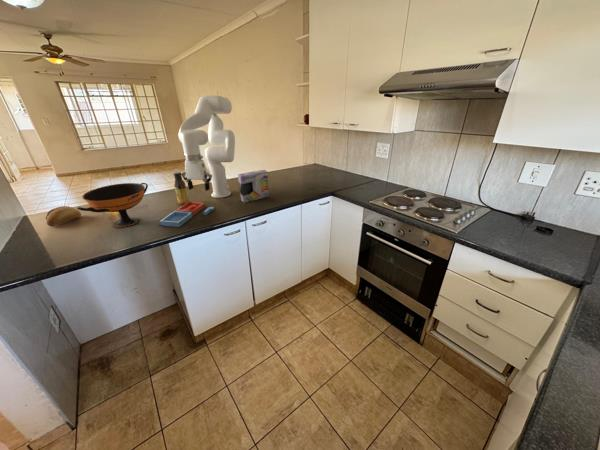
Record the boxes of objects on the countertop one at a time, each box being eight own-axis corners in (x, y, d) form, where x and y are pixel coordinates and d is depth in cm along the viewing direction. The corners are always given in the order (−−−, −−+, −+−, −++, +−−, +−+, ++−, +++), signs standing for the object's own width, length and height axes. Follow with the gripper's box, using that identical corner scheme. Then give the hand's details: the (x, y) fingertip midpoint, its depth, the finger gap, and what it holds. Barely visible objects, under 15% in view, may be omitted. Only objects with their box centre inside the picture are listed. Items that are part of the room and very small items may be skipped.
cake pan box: (242, 203, 152) (238, 175, 144) (239, 201, 156) (235, 173, 148) (269, 197, 162) (268, 170, 154) (266, 195, 166) (264, 169, 157)
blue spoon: (209, 208, 146) (209, 205, 145) (215, 208, 145) (214, 205, 145) (201, 214, 138) (201, 211, 137) (207, 215, 137) (207, 212, 137)
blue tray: (175, 215, 138) (174, 211, 137) (193, 216, 136) (192, 212, 135) (160, 225, 127) (159, 221, 126) (179, 226, 125) (178, 222, 124)
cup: (134, 207, 148) (125, 178, 139) (171, 211, 142) (163, 182, 134) (72, 236, 117) (55, 202, 108) (115, 243, 111) (101, 207, 103)
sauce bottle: (179, 202, 154) (171, 171, 145) (189, 201, 156) (182, 170, 147) (178, 206, 149) (170, 174, 140) (189, 204, 151) (182, 173, 142)
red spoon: (192, 206, 148) (192, 203, 147) (198, 206, 147) (197, 203, 146) (183, 212, 139) (183, 209, 139) (189, 213, 139) (189, 210, 138)
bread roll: (43, 226, 125) (35, 212, 122) (74, 214, 138) (68, 201, 134) (56, 229, 123) (48, 215, 119) (86, 217, 136) (80, 203, 132)
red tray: (189, 205, 150) (188, 201, 149) (205, 206, 148) (204, 202, 147) (177, 214, 139) (176, 210, 138) (194, 215, 137) (193, 211, 136)
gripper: (212, 156, 128) (217, 188, 135) (182, 155, 130) (188, 186, 138) (205, 159, 121) (210, 192, 129) (173, 158, 124) (180, 190, 132)
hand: (199, 189), depth 134 cm, fingers open, 9 cm apart
